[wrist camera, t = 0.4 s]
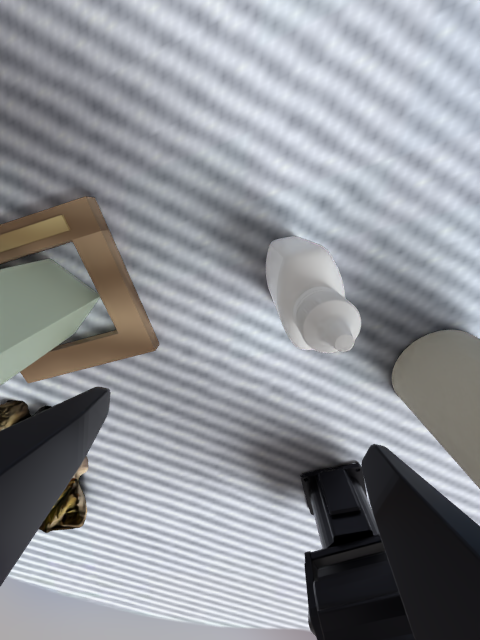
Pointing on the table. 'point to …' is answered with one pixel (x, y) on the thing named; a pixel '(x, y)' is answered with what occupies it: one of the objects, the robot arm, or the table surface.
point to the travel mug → (445, 392)
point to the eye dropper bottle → (310, 296)
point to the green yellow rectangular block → (38, 312)
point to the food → (72, 500)
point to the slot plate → (106, 273)
